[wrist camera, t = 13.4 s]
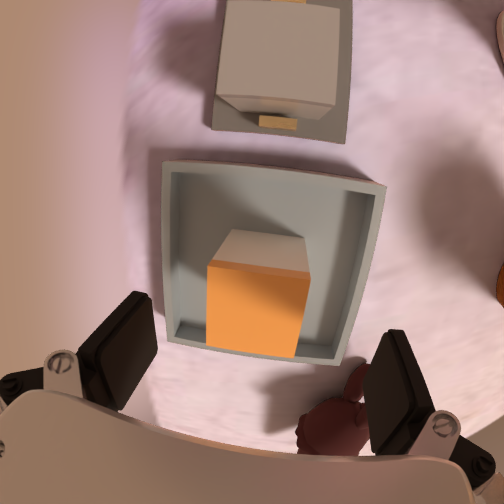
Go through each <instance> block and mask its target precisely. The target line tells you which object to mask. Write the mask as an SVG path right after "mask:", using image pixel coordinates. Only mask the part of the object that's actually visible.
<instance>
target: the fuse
mask: <svg viewBox="0 0 504 504" xmlns="http://www.w3.org/2000/svg"><path fill="white" fill-rule="evenodd" d="M339 27H340V9H338V8H332V7H326V6H320V5H312V4H304V3H295V2H282V1H263V0H231V1H228V4H227V11H226V18H225V25H224V32H223V40H222V47H221V55H220V64H219V73H218V82H217V91H216V94H217V95H218V96H220V97H221V98H222V99H224V100H225V101H227V102H228V103H229V104H231V105H232V106H233V107H235V108H236V109H237V110H239V111H240V112H249V113H263V114H274V115H284V116H293V117H301V118H309V119H316V120H319V119H321V118H322V117H323V116H324V115H325V114H326V113H327V112H328V111H329V110H330V109H331V108H332V107H334V106H335V101H336V88H337V73H338V54H339Z"/></svg>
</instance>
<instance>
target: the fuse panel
mask: <svg viewBox="0 0 504 504" xmlns="http://www.w3.org/2000/svg"><path fill="white" fill-rule="evenodd" d="M228 1H231V0H227V1H226V7H225V14H224V21H223V28H222V35H221V43H220V50H219V59H218V67H217V76H216V85H215V95H214V105H213V116H212V127H211V130H214V131H231V132H247V133H259V134H270V135H280V136H289V137H297V138H305V139H312V140H319V141H325V142H332V143H338V144H345V140H346V131H347V120H348V109H349V96H350V81H351V62H352V0H263V1H282V2H295V3H304V4H312V5H320V6H326V7H332V8H338V9H340V27H339V54H338V73H337V88H336V101H335V106H334V107H332V108H331V109H330V110H329V111H328V112H327V113H326V114H325V115H324V116H323V117H322V118H321V119H319V120H316V119H309V118H301V117H293V116H284V115H274V114H263V113H249V112H240V111H239V110H237V109H236V108H235V107H233V106H232V105H231V104H229V103H228V102H227V101H225V100H224V99H222V98H221V97H220V96H218V95H217V94H216V91H217V82H218V73H219V64H220V55H221V47H222V40H223V32H224V25H225V18H226V11H227V4H228Z"/></svg>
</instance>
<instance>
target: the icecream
mask: <svg viewBox="0 0 504 504" xmlns="http://www.w3.org/2000/svg"><path fill="white" fill-rule="evenodd" d="M369 366H370V364H366V363H365V364H363V365H361V366H359V367H358V368H357V369H356V370H355V372H354V373H353V374H352V375H351V376H350V378H349V380H348V382H347V384H346V387H345V389H344V393H343V398H331V399H328V400H326V401H323V402H322V403H321V404H319V405H318V406H317V407H315V408H314V409H312V410H311V411H310V412H309V413H308V414H304V415H302V416H301V417H300V419H299V423H298V427H297V429H296V431H295V433H296V435H297V447H298V448H299V449H298V452H297V454H306V455H324V456H358V454H359V451H360V450H361V449H362V448H363V446H364V445H365V444H366V442H367V441H368V440H369V438H370V435H369V427H368V420H367V413H366V406H365V403H360V402H358V401H359V400H360V399H361V398H362V397H363V396H364V394H363V388H362V383H363V379H364V377H365V375H366V373H367V370H368V368H369Z"/></svg>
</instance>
